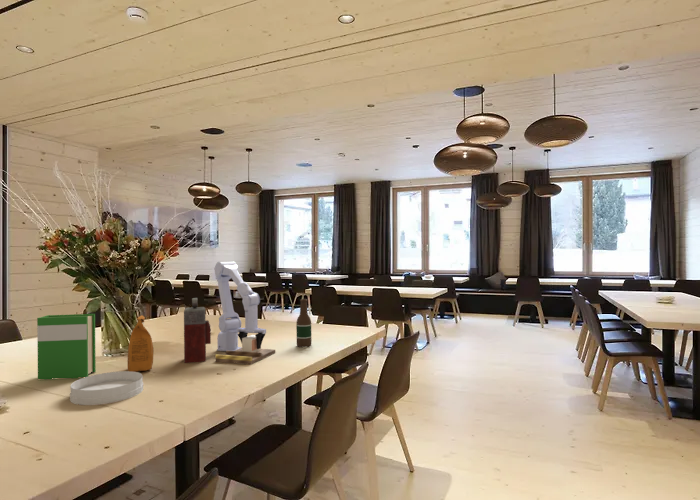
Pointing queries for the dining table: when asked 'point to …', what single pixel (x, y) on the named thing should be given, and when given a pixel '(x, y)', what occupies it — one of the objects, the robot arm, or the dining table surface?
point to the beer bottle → (303, 326)
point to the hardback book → (66, 346)
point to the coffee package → (140, 348)
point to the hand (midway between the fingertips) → (251, 348)
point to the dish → (106, 388)
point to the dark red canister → (195, 333)
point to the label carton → (249, 344)
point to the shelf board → (244, 356)
